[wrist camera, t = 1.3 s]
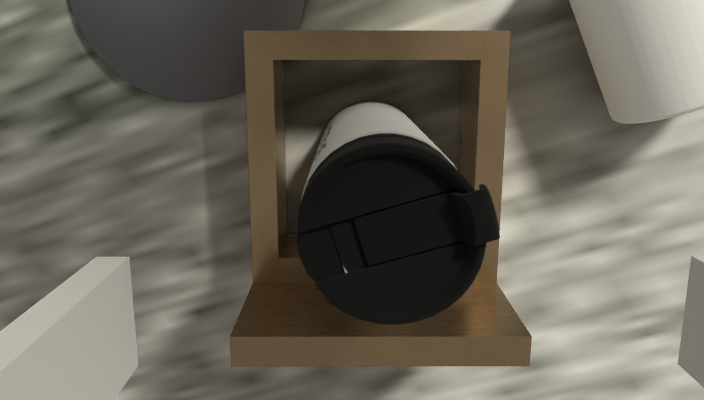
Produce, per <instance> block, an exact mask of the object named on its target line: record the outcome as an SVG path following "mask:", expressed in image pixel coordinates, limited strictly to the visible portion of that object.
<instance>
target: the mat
mask: <svg viewBox="0 0 704 400" xmlns="http://www.w3.org/2000/svg"><path fill="white" fill-rule="evenodd" d="M69 1H70V4H71V8H72V11H73V14H74V16H75V19H76V21H77V23H78V26H79V28H80V30H81V32H82V33H83V35H84V37H85V39H86V40H87V42H88V44H89V45H90V46H91V48H92V49H93V50H94V52H95V53H96V54H97V56H98V57H99V58H100V59H101V60H102V61H103V62H104V63H105V64H106V65H107V66H108V67H109V68H110V69H111V70H112V71H114V72H115V73H116V74H117V75H118V76H120V77H121V78H122V79H124V80H125V81H127V82H129V83H130V84H132V85H133V86H135V87H137V88H139V89H141V90H143V91H145V92H147V93H150V94H153V95H156V96H159V97H162V98H167V99H172V100H177V101H189V102H196V101H209V100H214V99H219V98H223V97H226V96H229V95H232V94H235V93H238V92H240V91H242V90H244V89H246V82H245V55H244V30H263V31H298V28H299V25H300V22H301V19H302V15H303V11H304V5H305V0H69Z"/></svg>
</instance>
